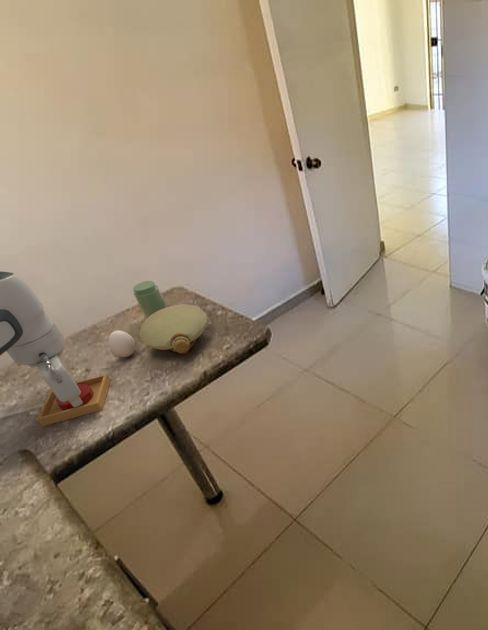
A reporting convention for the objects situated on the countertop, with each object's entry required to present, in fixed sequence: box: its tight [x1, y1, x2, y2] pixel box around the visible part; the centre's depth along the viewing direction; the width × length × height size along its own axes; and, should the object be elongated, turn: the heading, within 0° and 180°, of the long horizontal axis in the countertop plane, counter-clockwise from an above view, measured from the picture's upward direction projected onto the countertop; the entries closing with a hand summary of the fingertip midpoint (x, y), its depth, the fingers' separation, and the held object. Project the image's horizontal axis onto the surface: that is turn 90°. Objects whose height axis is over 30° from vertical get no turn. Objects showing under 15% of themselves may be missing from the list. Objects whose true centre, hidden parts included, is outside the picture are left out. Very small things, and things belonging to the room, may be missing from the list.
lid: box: [56, 384, 94, 410], centre depth 95 cm, size 6×6×2 cm
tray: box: [36, 373, 112, 428], centre depth 96 cm, size 11×10×2 cm
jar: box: [132, 280, 168, 320], centre depth 120 cm, size 6×6×10 cm
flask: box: [139, 303, 208, 355], centre depth 109 cm, size 9×16×18 cm
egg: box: [107, 330, 136, 358], centre depth 107 cm, size 5×5×7 cm
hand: (72, 393), depth 95 cm, fingers open, 8 cm apart
